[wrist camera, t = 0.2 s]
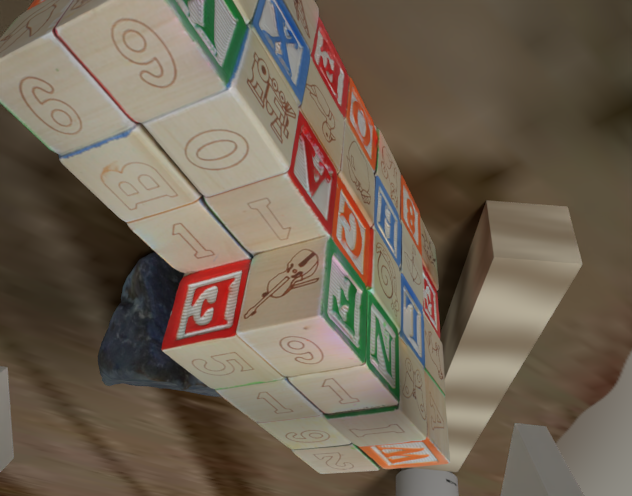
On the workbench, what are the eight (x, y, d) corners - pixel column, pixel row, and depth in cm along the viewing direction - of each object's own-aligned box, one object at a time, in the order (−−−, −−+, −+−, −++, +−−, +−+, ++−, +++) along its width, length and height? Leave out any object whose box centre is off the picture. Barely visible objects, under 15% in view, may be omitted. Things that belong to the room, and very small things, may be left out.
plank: (485, 195, 29) (494, 257, 26) (566, 201, 29) (582, 263, 26) (408, 421, 51) (409, 467, 48) (454, 426, 50) (457, 472, 48)
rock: (302, 250, 33) (123, 221, 30) (295, 395, 31) (99, 383, 27) (232, 297, 47) (103, 281, 43) (223, 401, 45) (86, 393, 41)
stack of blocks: (89, -78, 20) (-105, 148, 13) (236, -166, 18) (110, 47, 10) (337, 271, 35) (319, 480, 27) (439, 248, 32) (452, 471, 24)
